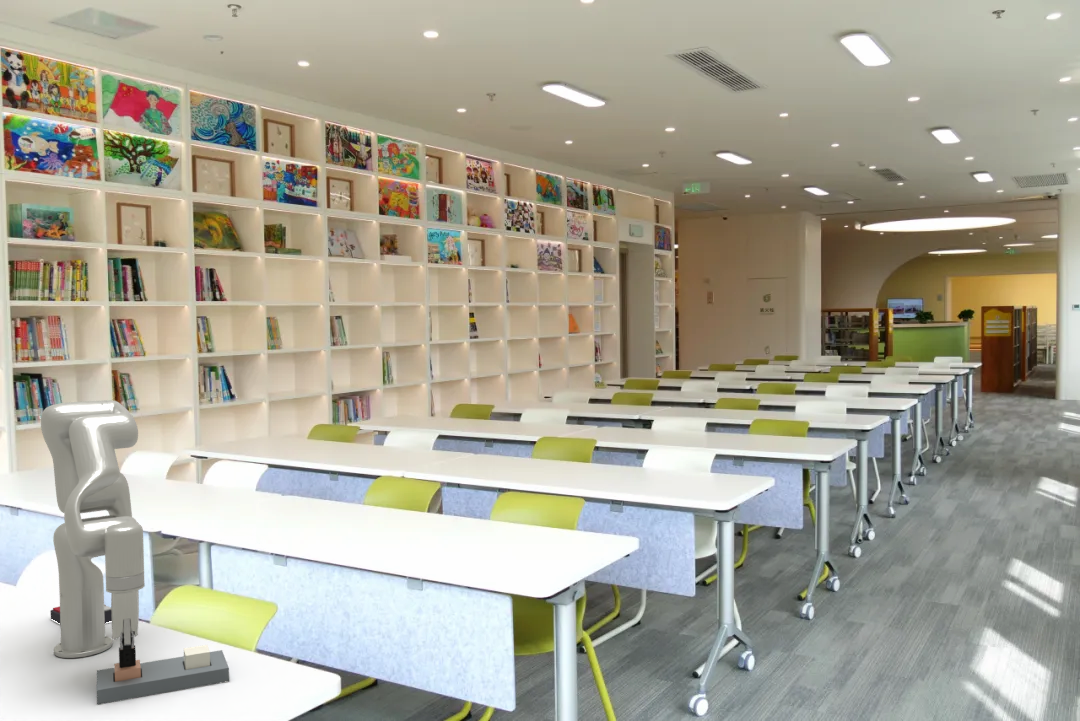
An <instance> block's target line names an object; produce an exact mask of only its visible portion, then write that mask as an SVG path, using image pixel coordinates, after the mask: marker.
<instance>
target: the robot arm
mask: <svg viewBox="0 0 1080 721" xmlns="http://www.w3.org/2000/svg"><path fill="white" fill-rule="evenodd" d="M40 430H41V434H42V437H43V439H44V442H45V445H46V446H47V448H48V450H49V453H50V455H51V458H52V462H53V475H54V486H55V495H56V502H57V508H58V510H59V511H60V512H61V513H63V514H64V516H63V517H64V523H62V524H60V525H58V527H56V529H55V531H54V533H53V537H52V538H53V546H54V551H55V552H54V553H55V555H56V562H57V563H56V564H57V569H58V584H59V585H58V586H59V588H58V589H59V590H58V591H59V607H60V625H59V627H60V642H59V643H58V644H56V645H55V646H54V648H53V654H54V656H56V657H59V658H62V659H63V658H64V659H74V658H75V659H76V658H77V659H78V658H85V657H90V656H94V655H96V654H97V655H98V654H101V653H102V652H105V651H107V650H108V649H110V648H111V647H112V645H113V640H114V641H116V640H117V639H119V647H118V663H119V667H120V668H124V667H131V666H135V665H136V660H137V658H136V657H137V655H136V645H135V638H136V637H137V636H138V632H139V622H140V621H139V619H140V618H139V617H140V614H139V613H140V603H139V602H140V599H139V598H140V594H139V591H140V590H142V589H144V588H145V586H146V585H145V558H144V557H145V553H144V550H145V549H144V548H145V547H144V530H143V526H142V525H141V524H139V522H138V521H137V520H136V518H134V517H133V513H132V503H131V502H132V500H131V493H130V487H129V483H128V481H127V478H126V476H125V475H124V474H123V473H122V472H121V471H120V470H121V469H120V467H119V463H118V458H117V455H116V451H115V450H119V449H129V448H132V447H134V446H136V444H137V442H138V439H139V428H138V424H137V421H136V419H135V417H134V416H133V415H132V414H131V412H130V411H129V410H128V409H127V408H126V407H125V406H124V405H123V404H122V403H120V402H118V401H116V400H108V399H107V400H89V401H69V402H61V403H60V402H59V403H56V404H52V405H49V406H47V407H46V408H45V409H43V411H42V413H41V416H40ZM100 511H101V512H102V511H107V512H108V514H109V515H102V516H96V517H95V516H94V517H88V518H87V517H86V518H82V516H81V514H87V513H94V512H100ZM103 556H104V562H105V566H104V567H105V584H104V574H103V572H102V570H101V569H100V567H98V566H97V565H96V564H95V563H93V561H92V559H94V558H98V557H103ZM104 586H105V587H104ZM104 588H105V590H104ZM105 592H107V593H109V594H110V595H111V598H110V599H111V600H110V603H111V604H110V606H111V612H112V613H111V616H112V623H111V632H112V633H111V636H112V637H109V636H107V635H106V629H105V628H106V626H105V625H106V624H105V617H104V604H105Z"/></svg>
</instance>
